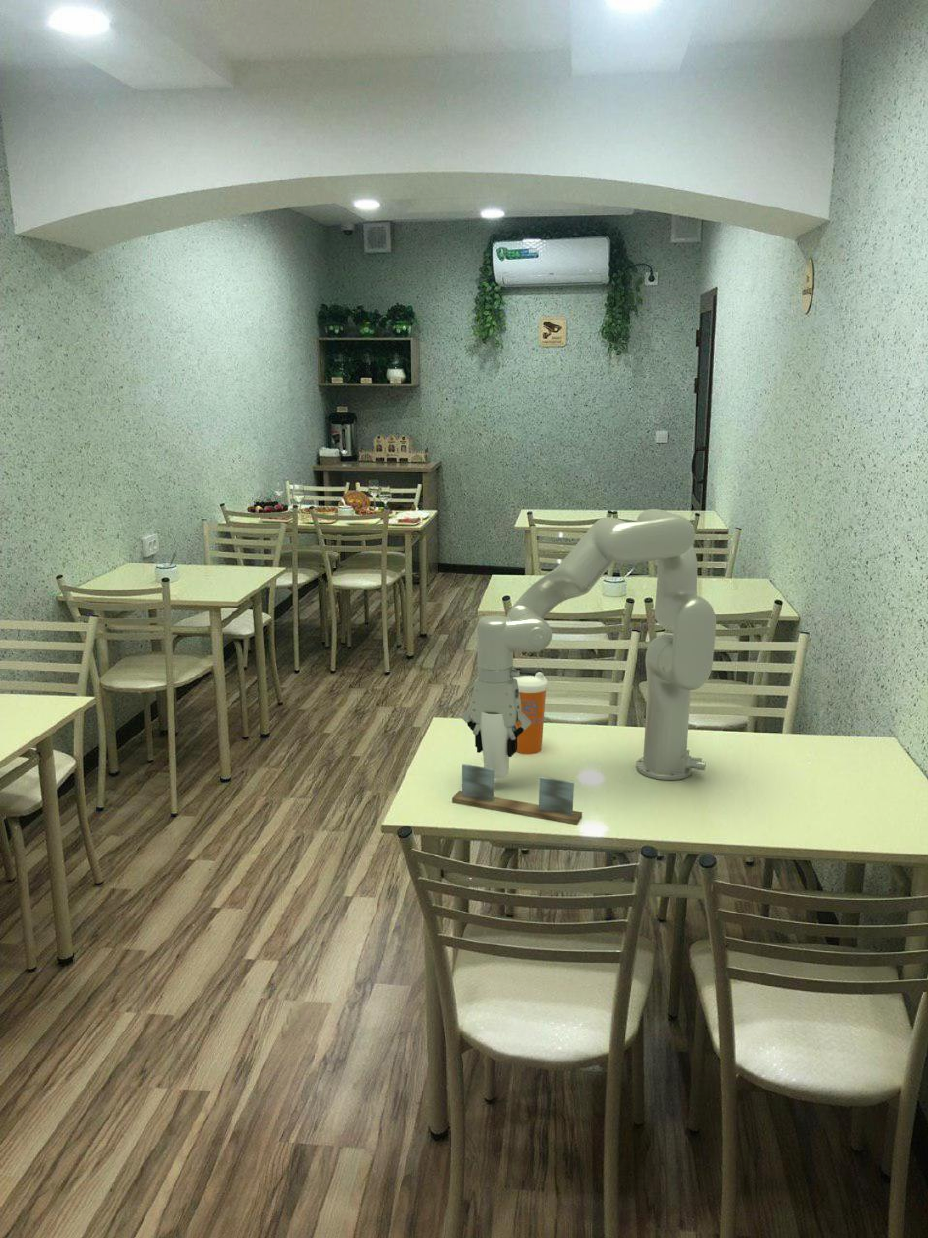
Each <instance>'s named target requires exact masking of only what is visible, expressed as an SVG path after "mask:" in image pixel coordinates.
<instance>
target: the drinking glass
mask: <svg viewBox="0 0 928 1238" xmlns="http://www.w3.org/2000/svg"><path fill="white" fill-rule="evenodd" d="M480 729H481V739H482V749H483V750H482V758H483V767H485V768H491V769H494V779H502V778H505V777H507V776H508V774H509V769H510V768H509V767H510V766H509V764H510V757H508V739H509V734H508V732H507V727H505V726H504V720H503V716H502V714H488V713H485V712H482V714H481V724H480Z"/></svg>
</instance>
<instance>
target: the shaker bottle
mask: <svg viewBox="0 0 928 1238" xmlns="http://www.w3.org/2000/svg"><path fill="white" fill-rule="evenodd" d="M514 670H516V671H519V677H514V679H517V682H518V687H519V693H520V701H521V711H522V712H523V714H524V715H525V716H526V717H527V718H528V719H529V720H530V721H531V725H530V726H529V727H528V728H527V729H526V730H524V731H523V732H522V733H521V734H520V735H519V736H518V737H517V751H516V752H515V753H519V754H522V755H533V754H534V755H535V754H538V753H540V752H541V751H542V748H543V738H544V737H543V736H544V735H543V734H544V722H545V712H546V711H545V709H546V696H547V690H548V679H547V678H546V677H545V676H544V670H543V668H541V667H536V668H535V669H534V668H528V667H516V668H515V667H514ZM515 724H516V726H517V729H518V728H519V727H520V726H521V725H522V722H521V721H518V722H516V723H515Z"/></svg>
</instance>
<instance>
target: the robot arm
mask: <svg viewBox="0 0 928 1238" xmlns="http://www.w3.org/2000/svg"><path fill="white" fill-rule="evenodd" d="M695 531H696V530H695V528H694V525H693V524H692V523H691V521H690V520H689V519H688V518H686V517H684V516H683V515H679V514H676V513H672V512H669V511H666V510H663V509H660V508H659V509H658V508H650V509H645V510H644V511H642V512H641V513H640V514H639V515H638V516H637V518H636V521H624V520H622V519H619V518H615V517H610V516H609V517H602V518H600V519H598V520H596V522H595V523H594V524H592V526H591V527H590V528H588V530H587V531H586V532H585V534H584V535H583V536H582V537H581V538H580V539H579V541H578V542H577V544H575V546H574V547H573V548H572V549H571V551H569V553H568V554H567V555H565V557H564V558H563V560H562V561H560V563H559V564H558V565H557V566H556V567H555V568H554V569H552V570H551V571H549V572H548V573H546V574H545V575H544V576H542V577H541V578H540V579H538V580H537V581H536V582H534V583H533V584H531V586H529V588H527V589H526V591H524V593H523V594H521V596H520V597H519V598H518V600H517V601H516V602H515V603H514V604H513V606H512V607H511V608H510V610H509V611H508V612H507V614H506V616H505V615H500V614H499V615H498V614H497V615H496V614H493V615H486V616H482V617H481V618H479V619H478V621H477V624H476V627H477V628H476V640H477V641H476V642H477V646H476V647H477V676H476V678H475V680H474V685H473V690H472V698H471V706H470V707H469V708H467V710H465V711H464V713H462V714H461V715H460V716H461V717H460V718H461V719H462V721H464V722H465V724H467V726H468V728H470V730H471V731H472V734H473V735H474V746H475V748H476V752H477V753H478V754H480V753H483V749H482V739H481V729H480V724H481V714H482V712H485V713H488V714H502V716H503V720H504V726H505V727H507V732H508V734H509V739H508V757H509V758H512V757H513V755H515V753H517V752H516V751H517V737H518V736H519V735H520V734H521V733H522V732H523V731H524V730H526V729H527V728H528V727H529V726H530V725H531V721H530V720H529V719H528V718H527V717H526V716H525V715H524V714H523V712H522V711H521V701H520V693H519V687H518V682H517V679H514V677H519V671H516V670H514V669H515V665H514V652H526V653H535V652H536V653H537V652H541V651H542V650H545V649H546V648H548V646H549V645H550V644H551V642H552V639H553V631H552V627H551V625H550V624H549V623H548V622H547V621H546V620H545V618H546V617H547V616H548V614H549V613H550V612H551V611H552V610H553V609H554V608H556V607H557V606H559V605H560V604H562V603H563V602H566V601H567V600H571V599H575V598H579V597H582V596H584V595H586V594H588V593H589V592H590V591H591V590H592V589H593V588H594V587H595V585H596V584H597V583H598V582H599V580H600V579H601V578H602V576H604V574H605V573H606V572H607V571H608V570H609V568H610V567H612V565H613V564H614V563H618V564H622V565H623V564H625V565H626V564H637V563H638V564H639V563H644V562H652V561H656V566H657V575H656V576H657V580H656V591H655V592H656V593H655V605H654V616H655V620H656V622H657V623H658V625H659V626H661V627H662V628H664V629H665V630H666V631H668V632H670V633H672V634H670V633H669V634H667V633H666V634H660V635H658V636H657V637H655V638H653V640H651V641H650V643H649V644H648V647H647V648H646V652H645V669H646V670H645V671H646V679H647V680H646V681H647V684H646V687H647V689H646V690H647V692H646V693H647V694H646V706H645V709H646V710H645V724H644V726H645V727H644V729H645V730H644V741H643V742H644V743H643V756H642V757H639V758H638V760H636V764H635V765H636V766H635V767H636V771H638V772H639V773H641V774H642V775H644V776H645V777H649V778H652V779H657V780H664V781H677V780H682V779H686V778H688V777H689V776H691V775H692V774H693V769H695V770H698V771H705V770H706V765H707V764H706V763H707V762H706V761H703V760H702V759H703V758H701V757H700V758H699V757H692V755H690V749H688V737H689V736H688V735H689V734H688V733H689V721H690V720H689V719H690V707H691V691H694V690H697V689H700V688H701V687H703V686H705V684H706V683H707V681H708V680H709V677H711V676H710V675H711V673H712V670H713V665H714V664H713V663H714V655H715V644H716V633H717V617H716V611H715V610H714V607H713V606H712V604H710V602H709V601H708V600H706V599H705V598H703V597H701V596H700V595H698V590H697V589H698V558H697V554H696V551H695V547H694V545H693V544H694V542H695V539H696V532H695ZM518 721H521V722H522V725H521V726H520V727H519V728H518V729H517V726H516V724H515V723H516V722H518Z"/></svg>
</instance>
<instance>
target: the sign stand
mask: <svg viewBox="0 0 928 1238" xmlns="http://www.w3.org/2000/svg"><path fill="white" fill-rule="evenodd" d="M574 785H575V782H574V781H569V780H563V779H557V778H551V777H544V776H540V777H539V788H538V789H539V790H538V804H537V803H531V802H526V801H519V800H515V799H509V798H503V797H498V796H495V778H494V769H491V768H485V767H484V766H478V765H472V764H466V763H462V765H461V790H458V791H457V792H456V793H455V794H454V795H453V796H452V797H451V803H455V804H460V805H465V806H470V807H477V808H481V809H482V808H483V809H487V810H494V811H497V812H505V813H508V814H509V813H510V814H514V815H521V816H527V817H531V818H535V819H536V818H538V819H542V820H547V821H553V822H558V823H559V822H560V823H565V824H569V825H576V826H578V823H579V822H580V821H581V819H582V817H583V812H582V811H576V810H574V789H575V787H574Z"/></svg>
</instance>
